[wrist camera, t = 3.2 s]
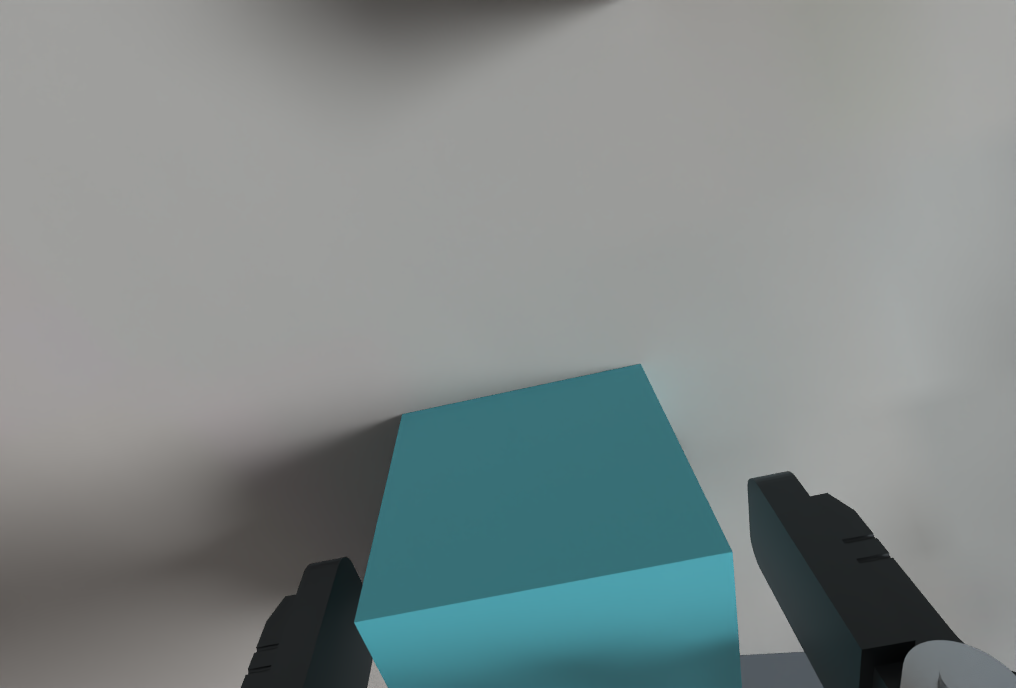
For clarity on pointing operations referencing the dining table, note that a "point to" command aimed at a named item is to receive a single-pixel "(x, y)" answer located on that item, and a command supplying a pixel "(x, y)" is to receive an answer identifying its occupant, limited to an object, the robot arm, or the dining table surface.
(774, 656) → the slate gray block
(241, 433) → the dining table surface
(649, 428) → the teal block
